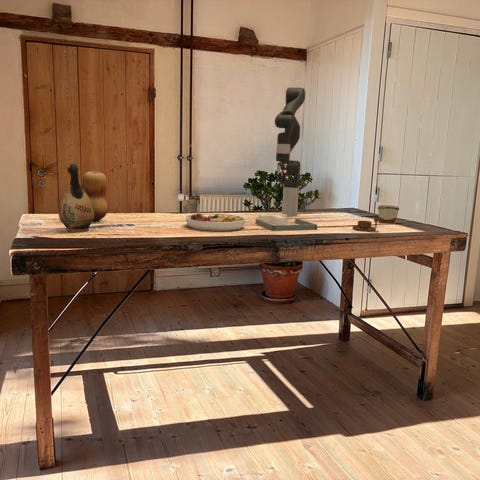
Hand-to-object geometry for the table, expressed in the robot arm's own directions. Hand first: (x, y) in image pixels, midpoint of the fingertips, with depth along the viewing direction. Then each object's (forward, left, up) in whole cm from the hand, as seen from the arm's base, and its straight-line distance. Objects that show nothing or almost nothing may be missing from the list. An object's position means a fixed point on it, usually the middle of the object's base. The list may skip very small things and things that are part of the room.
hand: (281, 182), depth 264 cm
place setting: (+33, +37, -22) cm, 54 cm away
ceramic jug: (+16, -108, -22) cm, 111 cm away
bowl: (+14, -42, -22) cm, 49 cm away
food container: (+13, +62, -22) cm, 67 cm away
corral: (+18, -5, -22) cm, 29 cm away
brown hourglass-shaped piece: (-10, -99, -22) cm, 102 cm away
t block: (+7, -5, -22) cm, 23 cm away
